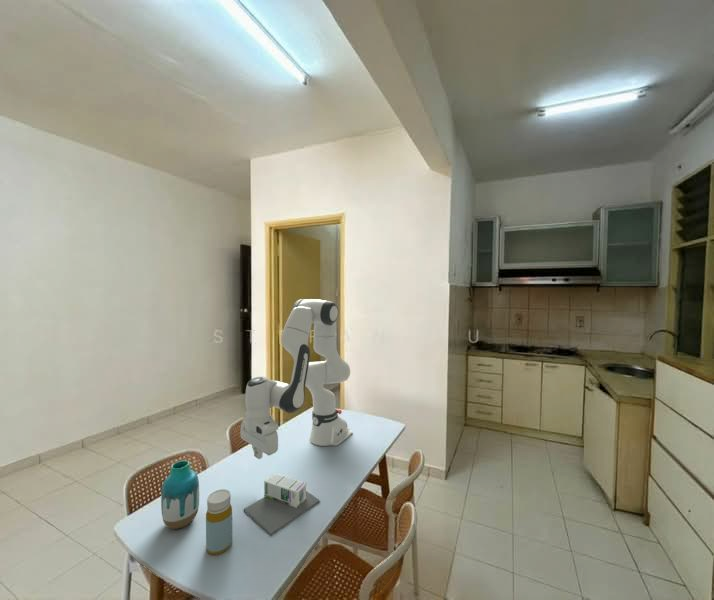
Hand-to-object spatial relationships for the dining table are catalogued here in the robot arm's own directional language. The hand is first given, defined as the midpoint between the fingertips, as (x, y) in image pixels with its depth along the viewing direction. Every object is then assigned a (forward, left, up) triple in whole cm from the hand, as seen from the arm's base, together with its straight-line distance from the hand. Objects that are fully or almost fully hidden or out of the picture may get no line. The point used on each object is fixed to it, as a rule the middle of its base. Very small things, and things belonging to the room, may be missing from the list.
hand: (258, 457), depth 117 cm
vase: (+26, -3, -12) cm, 29 cm away
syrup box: (-1, +6, -8) cm, 10 cm away
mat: (0, +15, -11) cm, 19 cm away
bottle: (+22, +15, -12) cm, 29 cm away
